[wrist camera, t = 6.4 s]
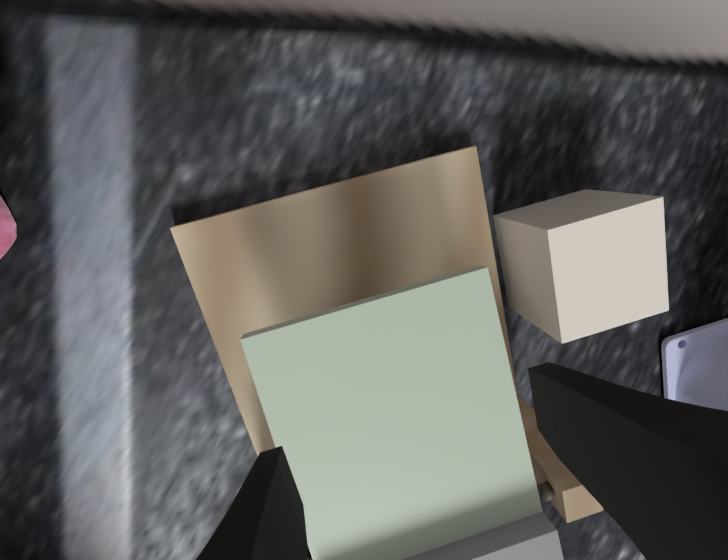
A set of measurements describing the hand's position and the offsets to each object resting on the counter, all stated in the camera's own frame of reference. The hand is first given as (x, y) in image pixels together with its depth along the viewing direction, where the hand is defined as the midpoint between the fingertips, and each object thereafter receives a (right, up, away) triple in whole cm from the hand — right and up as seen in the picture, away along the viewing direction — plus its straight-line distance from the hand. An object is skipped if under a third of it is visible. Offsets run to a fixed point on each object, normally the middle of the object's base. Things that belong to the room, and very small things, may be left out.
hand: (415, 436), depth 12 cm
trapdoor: (0, -3, +7) cm, 7 cm away
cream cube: (+8, +6, +11) cm, 15 cm away
